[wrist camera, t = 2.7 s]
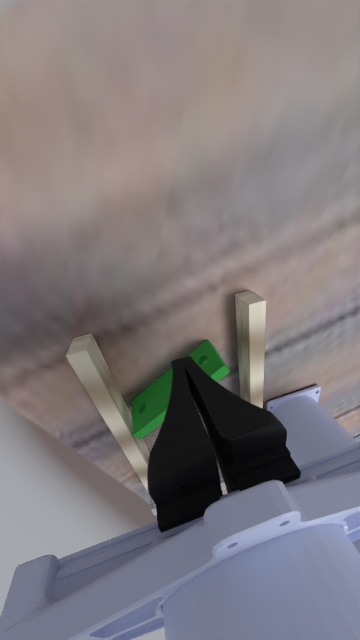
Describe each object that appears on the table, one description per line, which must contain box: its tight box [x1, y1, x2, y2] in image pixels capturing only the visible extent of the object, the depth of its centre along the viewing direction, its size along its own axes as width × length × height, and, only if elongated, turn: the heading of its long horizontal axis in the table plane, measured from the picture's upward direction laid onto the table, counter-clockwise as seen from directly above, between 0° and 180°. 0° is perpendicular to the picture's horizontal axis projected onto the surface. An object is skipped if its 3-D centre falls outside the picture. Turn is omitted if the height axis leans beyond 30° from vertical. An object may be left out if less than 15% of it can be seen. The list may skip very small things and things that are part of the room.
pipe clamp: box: [132, 339, 230, 440], centre depth 20 cm, size 10×4×4 cm, turn 129°
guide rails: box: [66, 290, 266, 493], centre depth 22 cm, size 24×16×2 cm, turn 11°
